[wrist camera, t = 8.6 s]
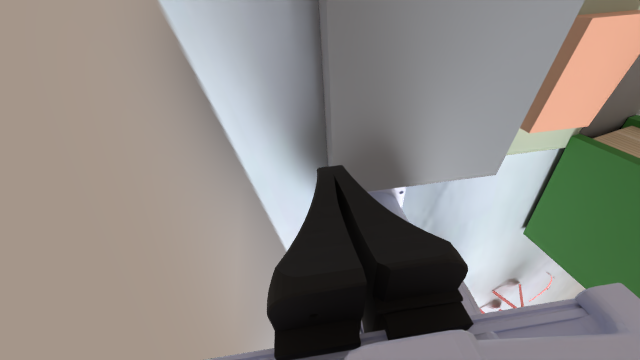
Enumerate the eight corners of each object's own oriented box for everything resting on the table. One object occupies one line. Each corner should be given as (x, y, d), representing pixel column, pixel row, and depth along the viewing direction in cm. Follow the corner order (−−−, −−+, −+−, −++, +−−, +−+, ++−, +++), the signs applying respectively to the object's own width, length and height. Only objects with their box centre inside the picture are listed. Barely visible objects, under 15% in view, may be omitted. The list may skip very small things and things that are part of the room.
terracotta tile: (529, 133, 22) (513, 124, 24) (588, 126, 22) (568, 117, 24) (592, 18, 16) (566, 16, 18) (670, 10, 17) (637, 9, 18)
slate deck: (470, 153, 26) (495, 174, 23) (328, 171, 25) (334, 196, 22) (549, -46, 16) (613, -56, 13) (316, -26, 15) (325, -32, 12)
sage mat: (564, 145, 27) (569, 147, 26) (473, 156, 26) (476, 159, 26) (708, -69, 16) (718, -70, 16) (560, -57, 16) (566, -58, 15)
